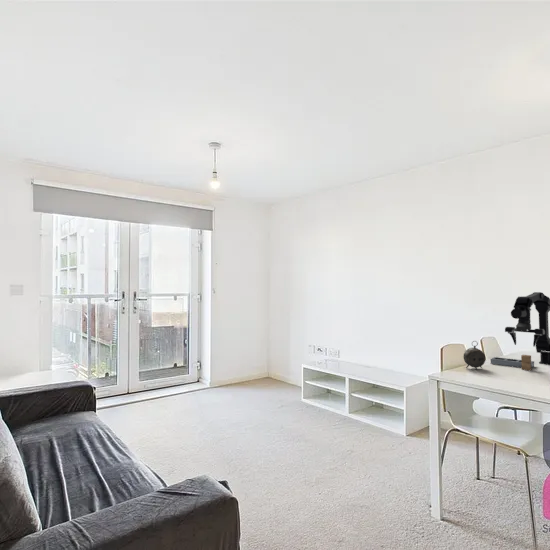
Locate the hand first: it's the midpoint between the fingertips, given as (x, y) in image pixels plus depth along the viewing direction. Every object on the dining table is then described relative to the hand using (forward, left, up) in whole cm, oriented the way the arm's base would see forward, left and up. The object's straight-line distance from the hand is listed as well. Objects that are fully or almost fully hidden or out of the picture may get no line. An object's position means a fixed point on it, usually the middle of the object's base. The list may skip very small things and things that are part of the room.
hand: (524, 345), depth 223 cm
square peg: (0, +1, -14) cm, 14 cm away
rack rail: (-8, -8, -14) cm, 18 cm away
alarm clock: (+18, -21, -14) cm, 31 cm away
